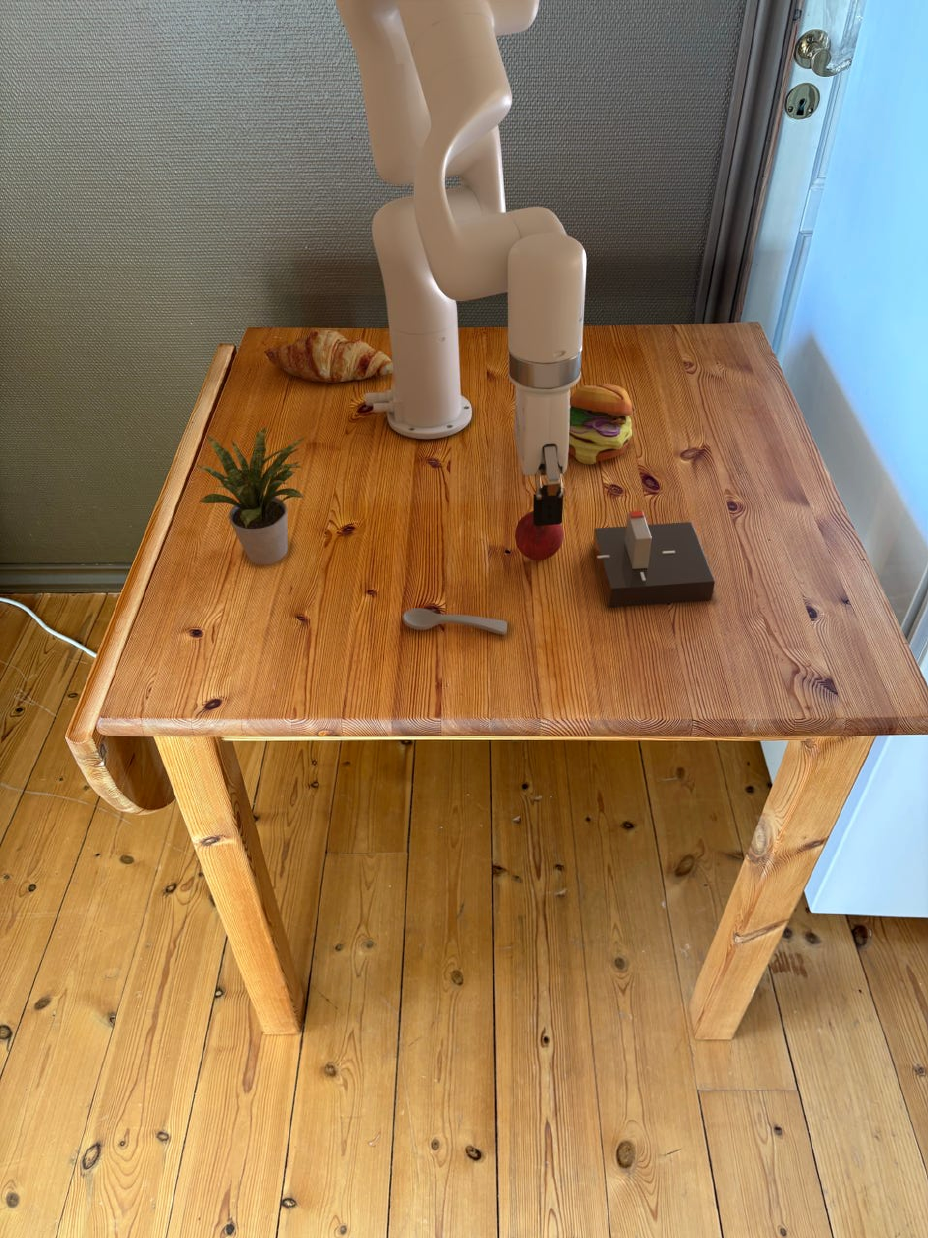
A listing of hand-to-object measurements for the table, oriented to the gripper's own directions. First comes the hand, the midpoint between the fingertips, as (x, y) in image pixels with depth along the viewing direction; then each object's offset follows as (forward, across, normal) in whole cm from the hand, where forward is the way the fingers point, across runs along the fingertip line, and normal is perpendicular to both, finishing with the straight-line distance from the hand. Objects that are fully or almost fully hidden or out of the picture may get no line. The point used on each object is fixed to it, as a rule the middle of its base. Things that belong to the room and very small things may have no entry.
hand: (541, 497), depth 107 cm
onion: (+10, 0, 0) cm, 10 cm away
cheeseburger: (+10, -24, +11) cm, 28 cm away
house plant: (+10, -4, -33) cm, 35 cm away
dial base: (+10, +4, +13) cm, 16 cm away
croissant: (+9, -50, -27) cm, 57 cm away
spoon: (+10, +10, -11) cm, 18 cm away
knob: (+7, +4, +11) cm, 13 cm away
